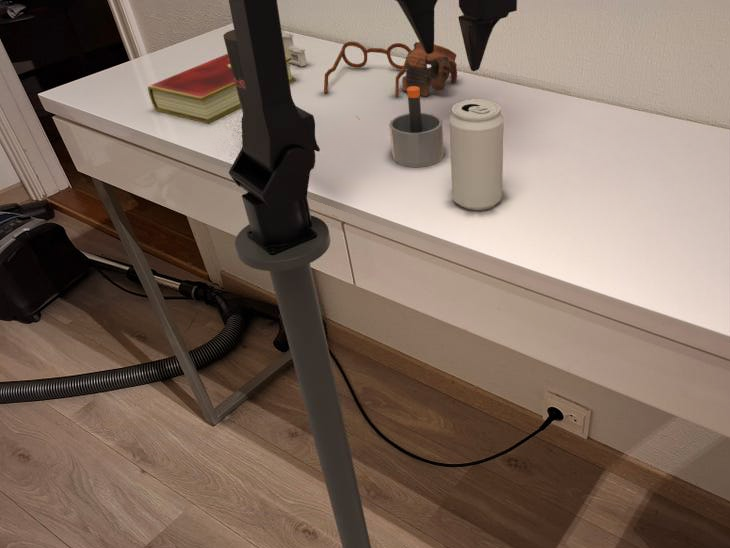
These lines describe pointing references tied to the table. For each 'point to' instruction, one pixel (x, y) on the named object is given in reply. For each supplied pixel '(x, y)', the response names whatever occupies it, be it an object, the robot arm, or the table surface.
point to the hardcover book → (200, 91)
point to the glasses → (379, 50)
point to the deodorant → (236, 66)
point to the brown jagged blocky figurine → (433, 76)
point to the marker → (414, 109)
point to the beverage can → (476, 153)
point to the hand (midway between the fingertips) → (451, 61)
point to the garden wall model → (293, 50)
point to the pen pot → (417, 141)
